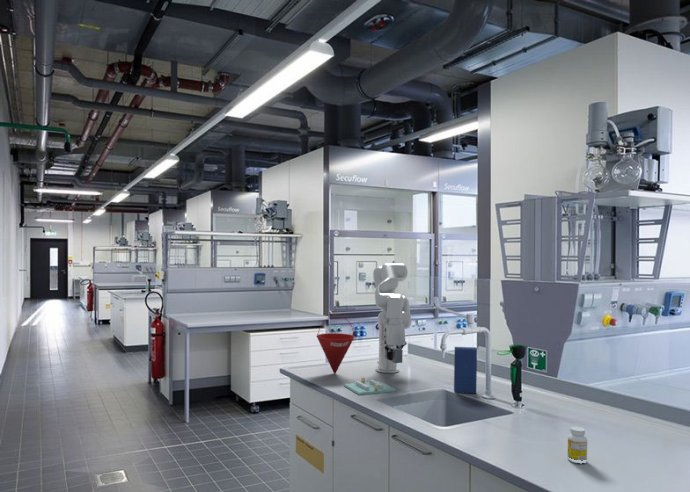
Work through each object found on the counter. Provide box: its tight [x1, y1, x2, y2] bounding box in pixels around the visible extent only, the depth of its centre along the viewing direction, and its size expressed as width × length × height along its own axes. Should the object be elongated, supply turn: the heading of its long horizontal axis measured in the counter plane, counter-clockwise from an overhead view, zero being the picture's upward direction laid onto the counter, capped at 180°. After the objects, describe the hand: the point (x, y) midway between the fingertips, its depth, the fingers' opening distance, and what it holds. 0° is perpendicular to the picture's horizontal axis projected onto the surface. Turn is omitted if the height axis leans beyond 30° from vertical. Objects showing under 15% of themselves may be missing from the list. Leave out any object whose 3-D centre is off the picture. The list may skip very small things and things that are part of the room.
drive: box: [385, 346, 404, 364], centre depth 246 cm, size 10×4×6 cm, turn 24°
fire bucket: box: [316, 314, 356, 374], centre depth 260 cm, size 22×20×30 cm
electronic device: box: [453, 346, 478, 395], centre depth 229 cm, size 10×5×20 cm, turn 84°
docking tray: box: [343, 376, 396, 396], centre depth 231 cm, size 16×18×4 cm
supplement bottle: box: [567, 426, 588, 461], centre depth 152 cm, size 5×5×10 cm
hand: (393, 358), depth 246 cm, fingers closed on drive, 4 cm apart
